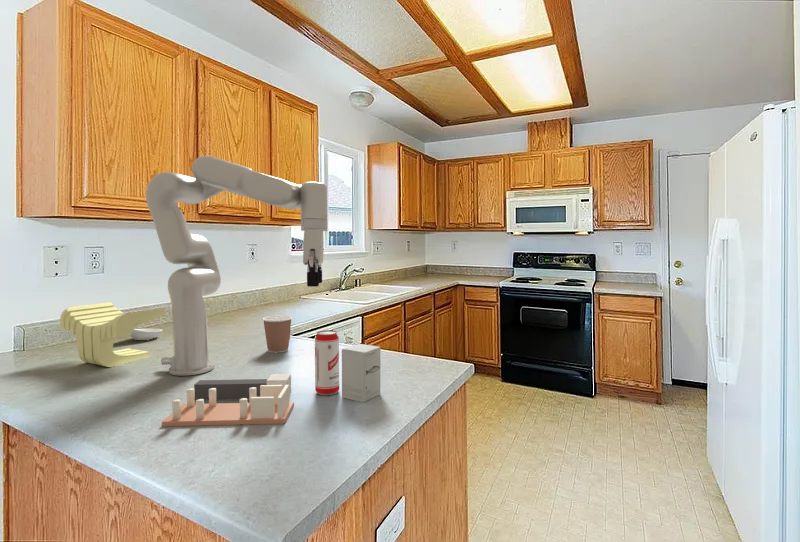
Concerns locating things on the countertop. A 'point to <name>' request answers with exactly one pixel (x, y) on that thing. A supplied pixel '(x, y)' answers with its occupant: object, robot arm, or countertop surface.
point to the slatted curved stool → (105, 331)
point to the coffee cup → (277, 332)
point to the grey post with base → (238, 387)
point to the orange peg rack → (233, 409)
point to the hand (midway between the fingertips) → (314, 284)
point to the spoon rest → (145, 333)
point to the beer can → (327, 362)
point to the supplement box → (360, 372)
